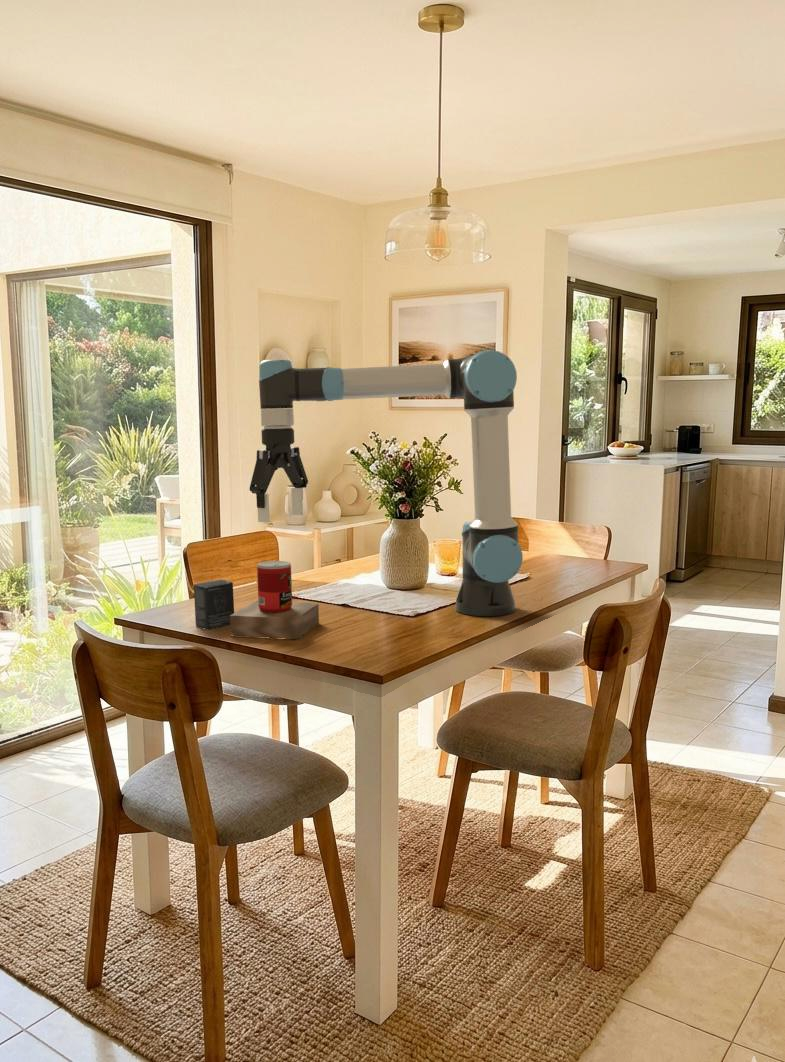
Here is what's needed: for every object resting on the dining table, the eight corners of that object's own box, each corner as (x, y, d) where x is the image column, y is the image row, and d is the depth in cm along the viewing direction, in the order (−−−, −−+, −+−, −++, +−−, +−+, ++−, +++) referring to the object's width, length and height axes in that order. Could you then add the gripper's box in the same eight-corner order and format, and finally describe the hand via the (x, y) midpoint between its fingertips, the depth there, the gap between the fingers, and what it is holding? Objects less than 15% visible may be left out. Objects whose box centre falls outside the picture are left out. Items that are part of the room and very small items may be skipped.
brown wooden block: (318, 623, 222) (318, 603, 222) (296, 640, 207) (295, 618, 206) (257, 620, 226) (256, 600, 226) (230, 636, 211) (229, 615, 210)
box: (222, 620, 227) (220, 579, 225) (235, 624, 223) (233, 582, 221) (194, 626, 221) (193, 583, 220) (207, 630, 217) (205, 586, 216)
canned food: (286, 613, 212) (285, 566, 210) (253, 612, 213) (252, 565, 212) (296, 606, 219) (295, 561, 217) (264, 605, 221) (263, 560, 219)
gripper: (294, 425, 225) (297, 511, 228) (230, 429, 203) (235, 524, 206) (320, 425, 221) (323, 512, 224) (258, 429, 199) (262, 525, 202)
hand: (281, 518), depth 215 cm, fingers open, 13 cm apart
